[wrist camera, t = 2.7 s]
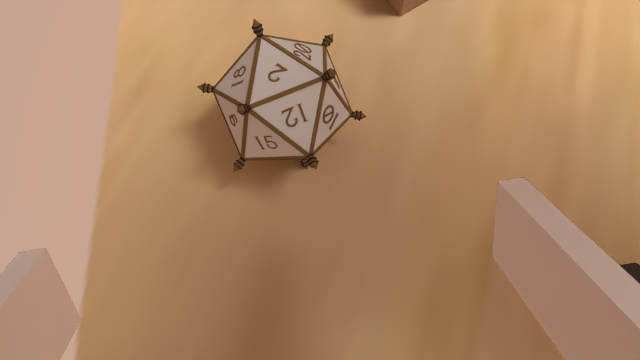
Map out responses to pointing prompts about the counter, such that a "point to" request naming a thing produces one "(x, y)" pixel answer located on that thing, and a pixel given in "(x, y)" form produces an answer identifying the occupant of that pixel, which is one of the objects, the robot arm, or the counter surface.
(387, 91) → the counter surface
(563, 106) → the counter surface
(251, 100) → the game die
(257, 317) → the counter surface
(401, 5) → the walnut block
